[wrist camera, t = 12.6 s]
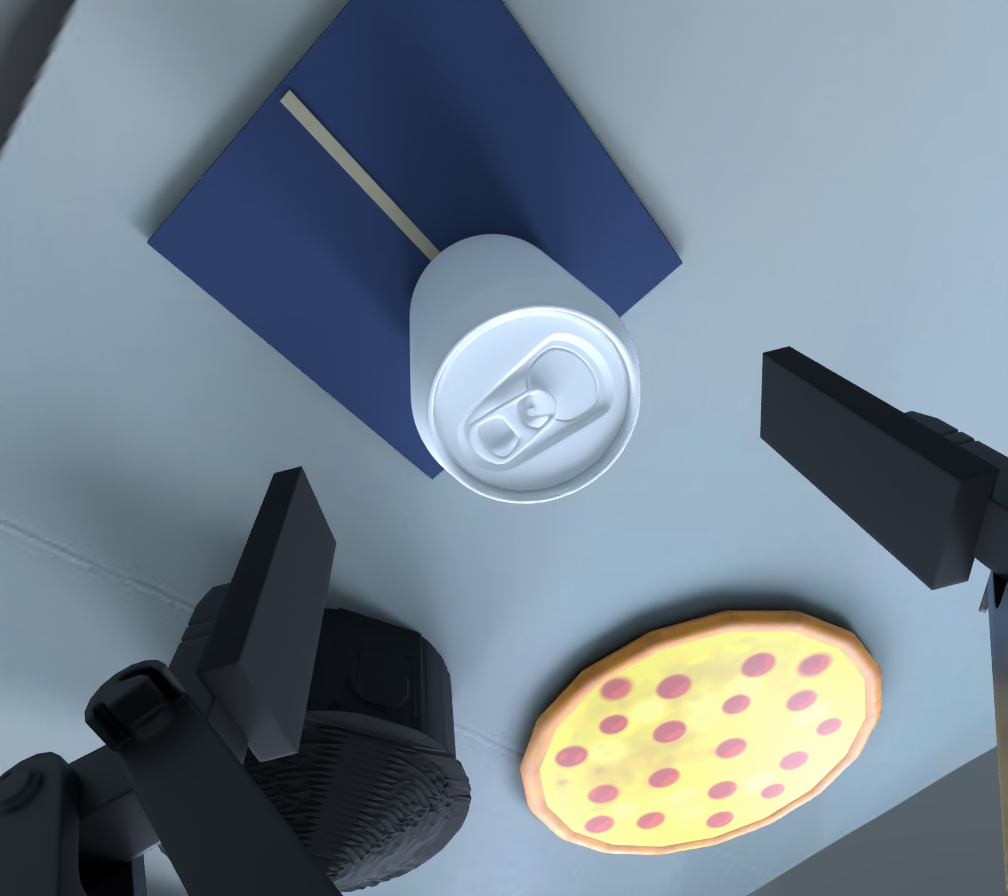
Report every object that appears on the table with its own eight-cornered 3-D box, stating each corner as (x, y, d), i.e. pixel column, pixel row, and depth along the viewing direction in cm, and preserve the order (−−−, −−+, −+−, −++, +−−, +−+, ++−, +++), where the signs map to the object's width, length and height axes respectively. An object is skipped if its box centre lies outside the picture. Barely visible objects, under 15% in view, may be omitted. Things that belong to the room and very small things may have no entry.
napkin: (150, 241, 26) (145, 242, 26) (432, -96, 22) (433, -100, 22) (432, 476, 34) (432, 480, 34) (680, 261, 30) (683, 263, 29)
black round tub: (505, 647, 42) (546, 881, 29) (394, 792, 48) (386, 1037, 35) (250, 564, 35) (153, 817, 22) (161, 744, 42) (45, 1022, 29)
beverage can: (596, 327, 30) (695, 424, 20) (476, 417, 32) (509, 552, 21) (506, 194, 27) (570, 228, 16) (375, 303, 28) (356, 398, 18)
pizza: (449, 806, 50) (450, 819, 49) (695, 544, 39) (702, 555, 38) (705, 869, 61) (709, 881, 60) (949, 681, 51) (959, 692, 50)
